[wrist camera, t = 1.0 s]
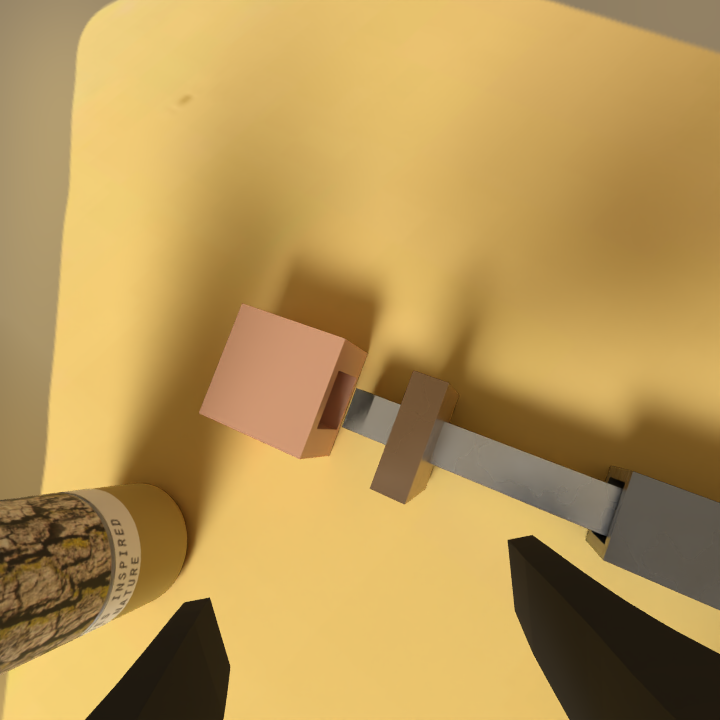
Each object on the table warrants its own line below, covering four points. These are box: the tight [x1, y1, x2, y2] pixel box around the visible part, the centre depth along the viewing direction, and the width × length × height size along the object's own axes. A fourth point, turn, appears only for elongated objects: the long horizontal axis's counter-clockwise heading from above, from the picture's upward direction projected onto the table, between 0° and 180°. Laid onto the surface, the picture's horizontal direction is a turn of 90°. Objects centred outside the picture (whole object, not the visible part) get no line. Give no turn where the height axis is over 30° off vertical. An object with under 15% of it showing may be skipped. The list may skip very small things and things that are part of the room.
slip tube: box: [342, 371, 623, 536], centre depth 19 cm, size 19×5×6 cm, turn 68°
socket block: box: [199, 303, 368, 459], centre depth 24 cm, size 6×6×4 cm
